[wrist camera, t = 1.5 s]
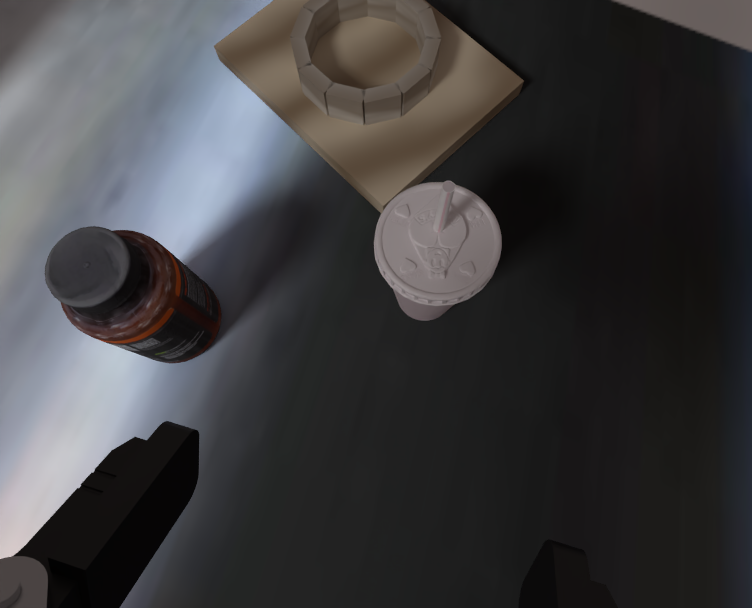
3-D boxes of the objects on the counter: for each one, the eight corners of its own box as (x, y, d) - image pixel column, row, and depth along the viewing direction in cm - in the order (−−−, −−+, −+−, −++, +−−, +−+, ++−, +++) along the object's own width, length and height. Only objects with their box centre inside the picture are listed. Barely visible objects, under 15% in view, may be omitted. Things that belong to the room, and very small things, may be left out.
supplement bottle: (181, 261, 36) (95, 181, 26) (242, 316, 35) (179, 257, 24) (115, 324, 35) (-5, 269, 24) (176, 384, 34) (79, 354, 23)
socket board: (219, 60, 41) (202, 19, 37) (353, -42, 43) (350, -91, 39) (383, 215, 37) (383, 188, 33) (519, 94, 40) (533, 55, 36)
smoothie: (472, 250, 36) (524, 133, 23) (472, 343, 35) (528, 275, 21) (378, 247, 37) (374, 128, 23) (374, 339, 35) (367, 269, 21)
